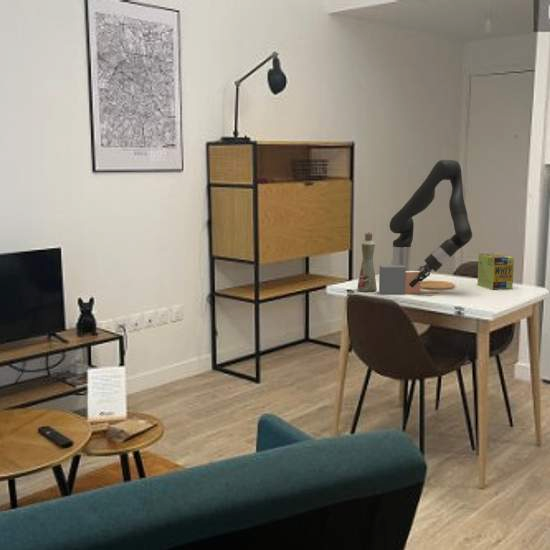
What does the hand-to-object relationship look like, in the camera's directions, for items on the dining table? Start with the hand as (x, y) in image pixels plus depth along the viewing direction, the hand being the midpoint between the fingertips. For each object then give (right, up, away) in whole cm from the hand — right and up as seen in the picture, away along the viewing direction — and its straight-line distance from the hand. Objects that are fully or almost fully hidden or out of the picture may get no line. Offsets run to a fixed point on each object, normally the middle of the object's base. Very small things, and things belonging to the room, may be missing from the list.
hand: (409, 285), depth 311 cm
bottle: (-19, -3, +8) cm, 20 cm away
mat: (+9, -4, 0) cm, 10 cm away
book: (-2, -4, +1) cm, 5 cm away
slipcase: (-8, -4, +1) cm, 9 cm away
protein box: (+44, -1, +17) cm, 48 cm away
